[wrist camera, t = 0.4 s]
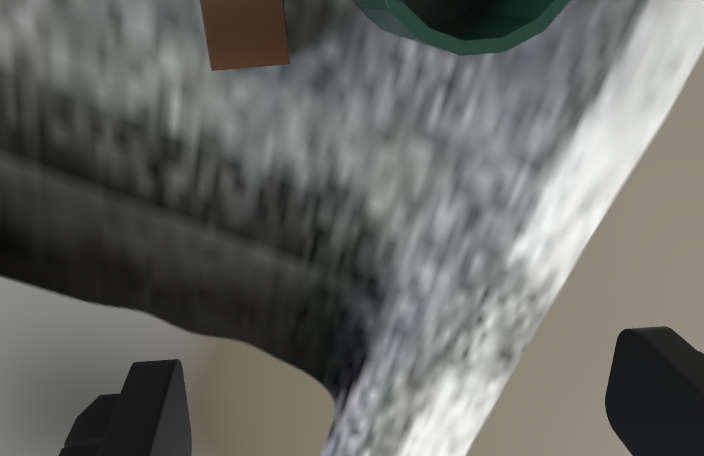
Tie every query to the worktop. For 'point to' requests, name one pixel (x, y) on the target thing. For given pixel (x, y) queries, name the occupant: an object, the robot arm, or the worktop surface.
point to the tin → (464, 21)
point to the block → (245, 33)
